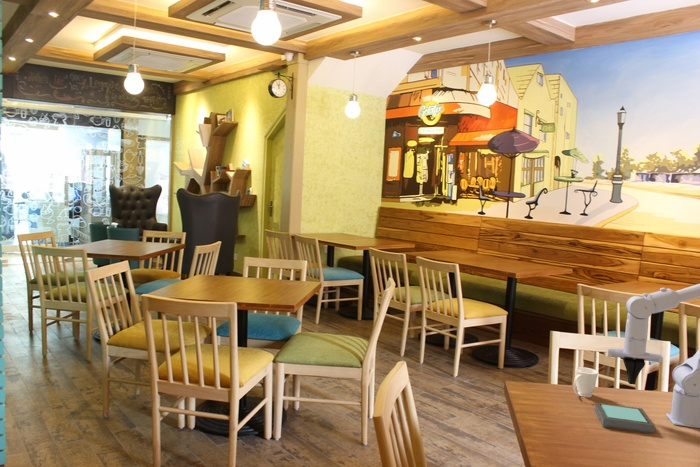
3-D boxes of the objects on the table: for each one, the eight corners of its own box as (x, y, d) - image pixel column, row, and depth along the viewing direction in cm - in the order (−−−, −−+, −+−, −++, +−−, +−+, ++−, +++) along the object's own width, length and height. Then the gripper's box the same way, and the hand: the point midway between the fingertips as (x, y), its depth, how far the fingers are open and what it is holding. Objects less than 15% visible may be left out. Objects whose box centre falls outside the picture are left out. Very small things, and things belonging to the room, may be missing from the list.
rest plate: (637, 414, 167) (638, 409, 167) (647, 427, 157) (647, 422, 157) (600, 409, 169) (601, 404, 169) (607, 422, 159) (608, 416, 159)
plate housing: (641, 416, 168) (642, 408, 168) (653, 434, 156) (654, 425, 155) (594, 410, 171) (595, 402, 171) (602, 427, 158) (603, 418, 158)
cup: (600, 396, 184) (603, 371, 183) (583, 402, 178) (585, 376, 177) (580, 389, 189) (583, 365, 189) (563, 394, 183) (565, 370, 183)
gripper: (659, 337, 170) (654, 382, 171) (606, 331, 173) (602, 375, 174) (666, 343, 163) (661, 390, 164) (611, 337, 166) (606, 383, 167)
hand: (631, 383), depth 169 cm, fingers closed
